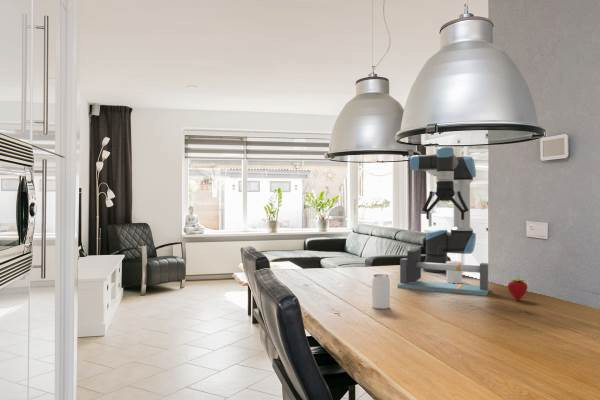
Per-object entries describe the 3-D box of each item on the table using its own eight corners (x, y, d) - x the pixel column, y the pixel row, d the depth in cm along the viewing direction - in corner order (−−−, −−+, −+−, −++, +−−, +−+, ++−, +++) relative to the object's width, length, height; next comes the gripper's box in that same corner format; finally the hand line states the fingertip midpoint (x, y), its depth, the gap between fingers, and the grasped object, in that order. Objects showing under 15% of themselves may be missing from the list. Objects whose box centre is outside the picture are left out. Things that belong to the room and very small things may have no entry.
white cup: (465, 284, 218) (465, 263, 218) (448, 283, 218) (448, 263, 218) (459, 281, 225) (459, 261, 225) (443, 281, 226) (443, 261, 226)
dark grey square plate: (407, 281, 206) (407, 251, 206) (414, 277, 219) (414, 248, 219) (413, 282, 205) (413, 251, 205) (420, 277, 217) (420, 248, 217)
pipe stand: (397, 287, 208) (397, 260, 208) (405, 282, 221) (405, 257, 221) (486, 295, 191) (486, 266, 191) (489, 289, 203) (489, 262, 203)
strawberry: (504, 298, 185) (504, 274, 185) (522, 298, 186) (522, 273, 186) (512, 301, 179) (512, 276, 179) (530, 301, 180) (530, 276, 180)
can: (392, 308, 167) (392, 276, 167) (376, 309, 166) (376, 277, 166) (385, 305, 174) (385, 273, 174) (369, 305, 172) (369, 274, 172)
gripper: (416, 181, 211) (416, 226, 211) (472, 179, 200) (472, 227, 200) (419, 181, 218) (419, 225, 218) (474, 180, 207) (474, 227, 206)
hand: (445, 226), depth 209 cm, fingers open, 13 cm apart
